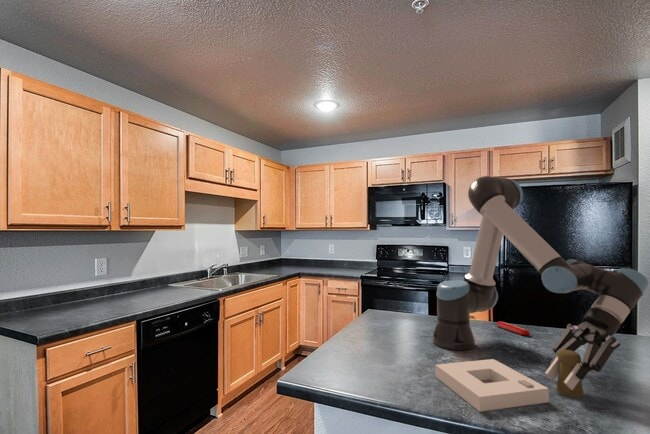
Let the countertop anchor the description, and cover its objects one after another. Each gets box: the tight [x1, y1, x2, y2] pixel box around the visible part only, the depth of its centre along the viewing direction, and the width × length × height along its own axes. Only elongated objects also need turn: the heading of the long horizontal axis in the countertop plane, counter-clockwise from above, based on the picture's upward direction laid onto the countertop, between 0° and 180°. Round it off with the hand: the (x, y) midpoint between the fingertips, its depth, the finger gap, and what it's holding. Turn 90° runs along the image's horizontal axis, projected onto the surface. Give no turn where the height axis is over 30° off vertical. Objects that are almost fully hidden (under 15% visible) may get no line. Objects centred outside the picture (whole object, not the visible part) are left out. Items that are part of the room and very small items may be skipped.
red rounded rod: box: [495, 320, 531, 337], centre depth 148 cm, size 16×4×3 cm, turn 17°
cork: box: [556, 350, 585, 399], centre depth 93 cm, size 6×6×11 cm
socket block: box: [434, 358, 550, 413], centre depth 95 cm, size 20×20×4 cm
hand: (558, 381), depth 92 cm, fingers closed on cork, 5 cm apart
